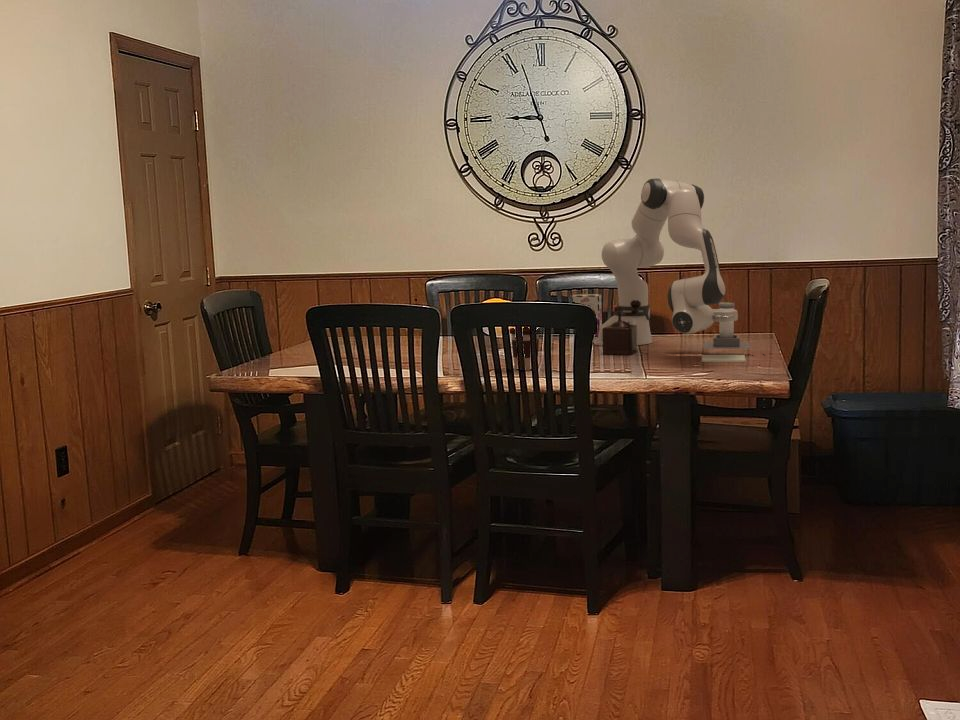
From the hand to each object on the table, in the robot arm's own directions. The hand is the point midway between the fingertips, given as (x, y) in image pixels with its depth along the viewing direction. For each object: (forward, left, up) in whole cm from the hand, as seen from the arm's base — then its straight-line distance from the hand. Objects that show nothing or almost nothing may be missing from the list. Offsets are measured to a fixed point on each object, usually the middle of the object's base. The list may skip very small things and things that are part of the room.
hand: (714, 312), depth 362 cm
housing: (+4, +12, -14) cm, 19 cm away
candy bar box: (-50, +44, -14) cm, 68 cm away
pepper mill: (-32, +2, -14) cm, 35 cm away
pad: (+3, -13, -14) cm, 20 cm away
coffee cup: (-60, -36, -14) cm, 72 cm away
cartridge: (+4, +12, -13) cm, 18 cm away
